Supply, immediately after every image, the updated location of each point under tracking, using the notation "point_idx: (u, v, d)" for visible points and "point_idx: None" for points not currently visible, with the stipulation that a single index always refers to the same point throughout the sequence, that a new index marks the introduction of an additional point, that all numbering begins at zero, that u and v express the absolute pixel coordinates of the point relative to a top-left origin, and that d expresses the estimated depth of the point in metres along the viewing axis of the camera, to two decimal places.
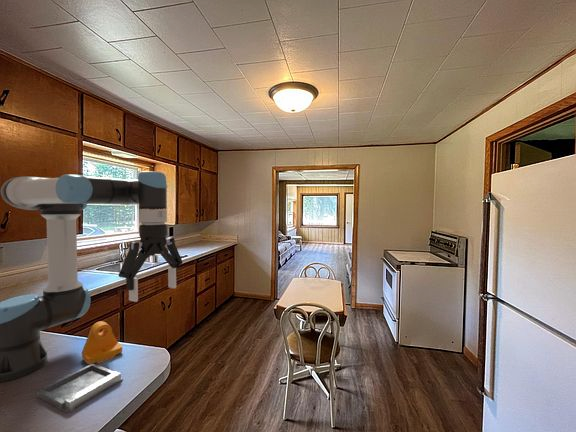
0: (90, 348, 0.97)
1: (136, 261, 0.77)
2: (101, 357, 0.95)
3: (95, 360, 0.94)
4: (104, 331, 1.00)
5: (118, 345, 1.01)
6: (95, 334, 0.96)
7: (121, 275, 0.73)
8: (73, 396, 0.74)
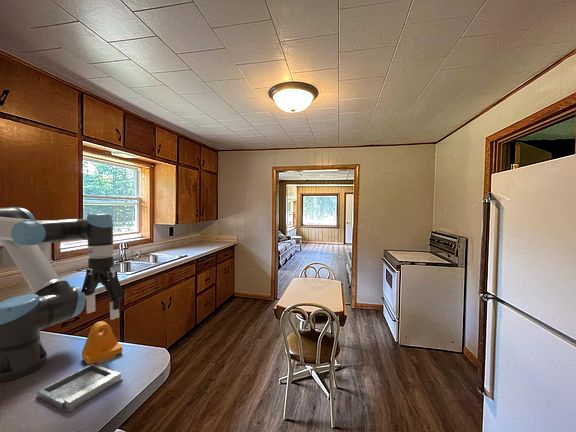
0: (90, 348, 0.97)
1: None
2: (101, 357, 0.95)
3: (95, 360, 0.94)
4: (104, 331, 1.00)
5: (118, 345, 1.01)
6: (95, 334, 0.96)
7: None
8: (73, 396, 0.74)
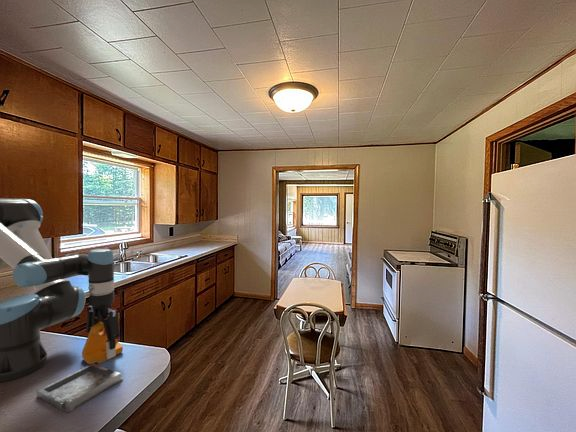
0: (91, 348, 0.97)
1: None
2: (101, 357, 0.95)
3: (96, 360, 0.94)
4: (104, 331, 1.00)
5: (118, 345, 1.01)
6: (95, 334, 0.96)
7: None
8: (73, 396, 0.74)
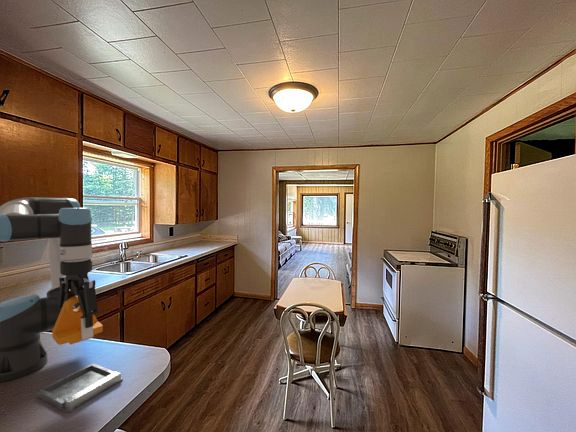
0: (63, 327, 0.80)
1: None
2: (76, 337, 0.78)
3: (68, 340, 0.77)
4: (80, 307, 0.83)
5: (98, 324, 0.84)
6: (68, 309, 0.79)
7: None
8: (73, 396, 0.74)
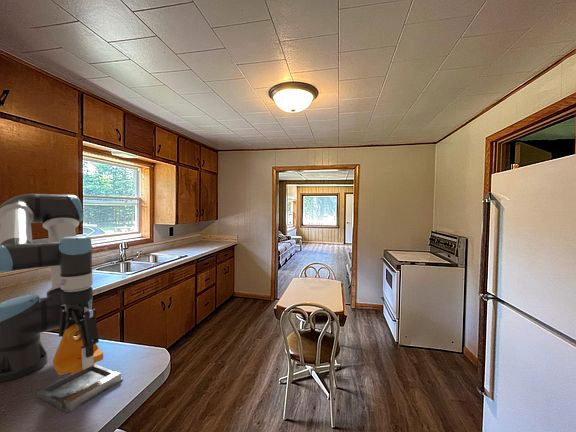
0: (64, 356, 0.80)
1: None
2: (76, 366, 0.78)
3: (69, 370, 0.77)
4: None
5: (98, 351, 0.85)
6: (69, 338, 0.79)
7: None
8: (73, 396, 0.74)
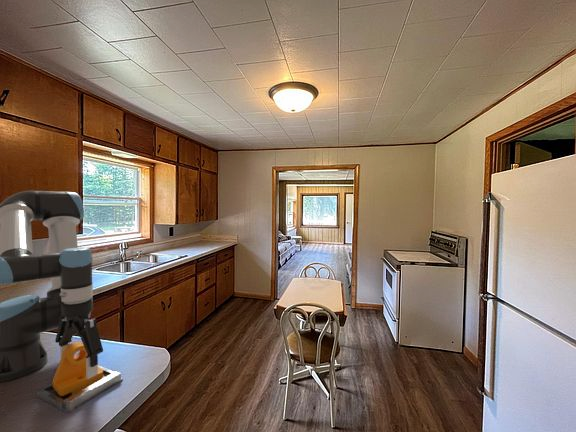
0: (63, 375, 0.80)
1: None
2: (77, 386, 0.79)
3: (69, 390, 0.77)
4: (81, 353, 0.84)
5: (98, 369, 0.85)
6: (69, 358, 0.79)
7: None
8: (73, 396, 0.74)
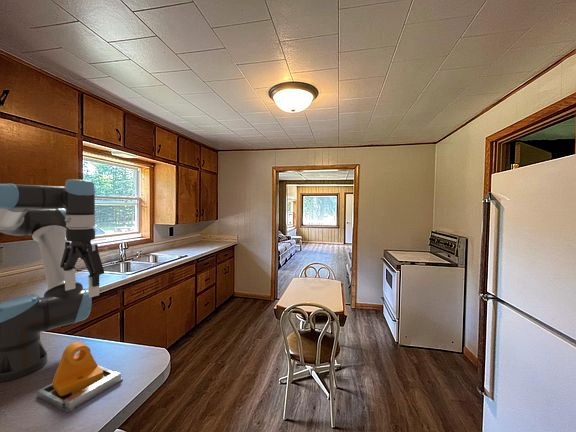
0: (63, 375, 0.80)
1: None
2: (77, 386, 0.79)
3: (69, 390, 0.77)
4: (81, 353, 0.84)
5: (98, 369, 0.85)
6: (69, 358, 0.79)
7: None
8: (73, 396, 0.74)
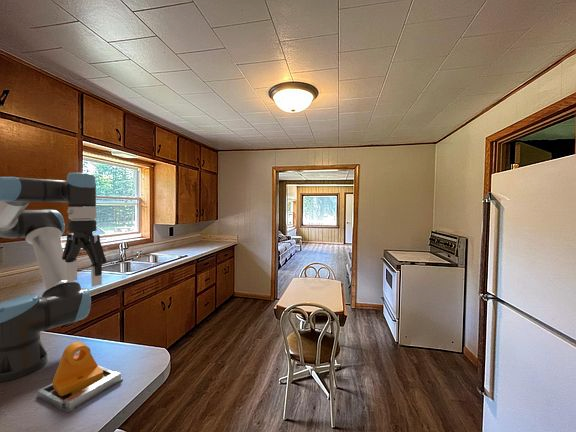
0: (63, 375, 0.80)
1: None
2: (77, 386, 0.79)
3: (69, 390, 0.77)
4: (81, 353, 0.84)
5: (98, 369, 0.85)
6: (69, 358, 0.79)
7: None
8: (73, 396, 0.74)
